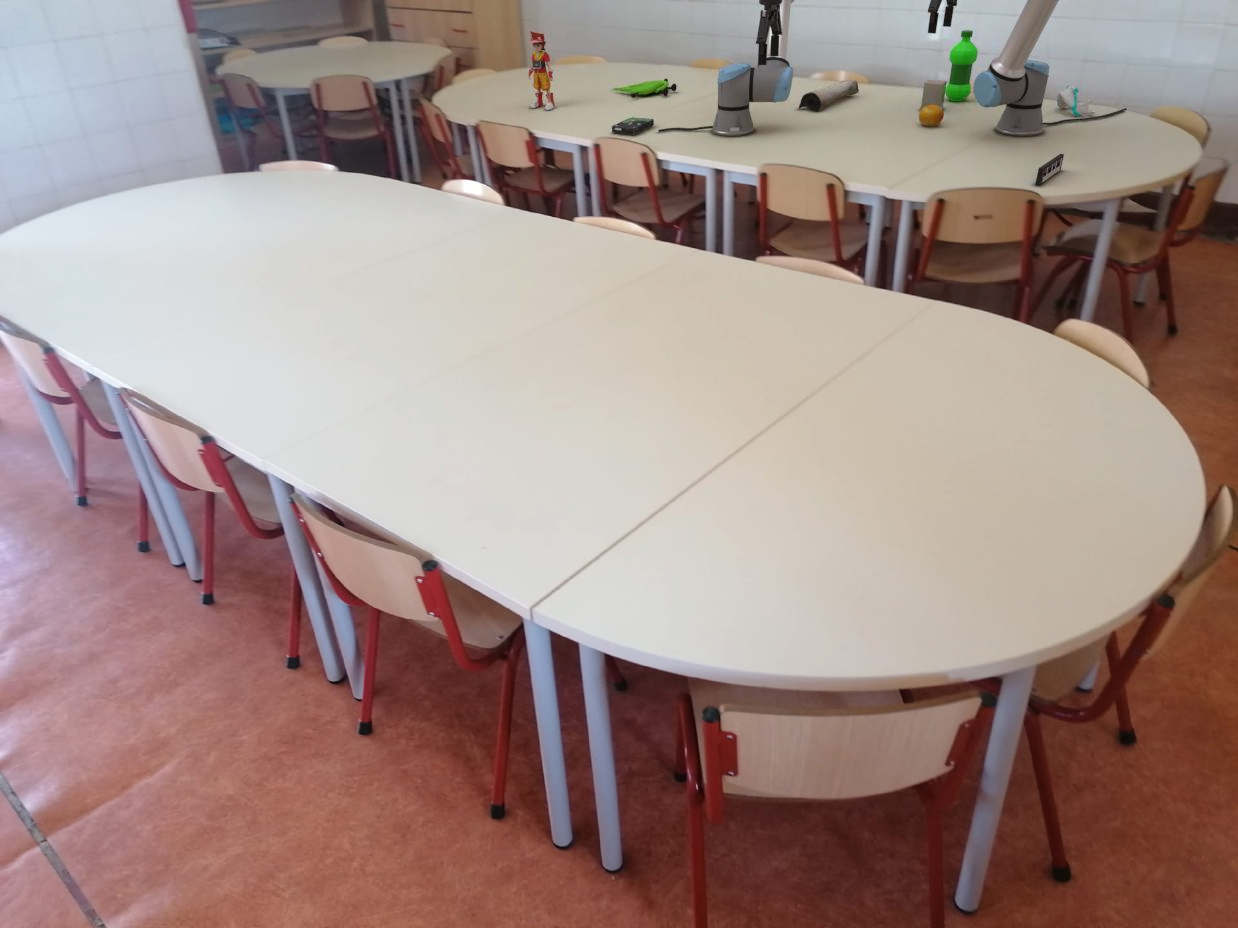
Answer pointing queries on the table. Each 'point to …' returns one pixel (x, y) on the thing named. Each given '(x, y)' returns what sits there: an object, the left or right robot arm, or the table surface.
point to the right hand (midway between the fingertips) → (939, 30)
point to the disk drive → (632, 126)
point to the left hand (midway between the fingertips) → (768, 60)
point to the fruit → (931, 115)
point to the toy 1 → (541, 71)
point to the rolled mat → (828, 94)
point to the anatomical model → (1073, 101)
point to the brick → (933, 93)
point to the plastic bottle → (961, 68)
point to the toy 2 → (648, 88)
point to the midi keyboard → (1049, 169)
